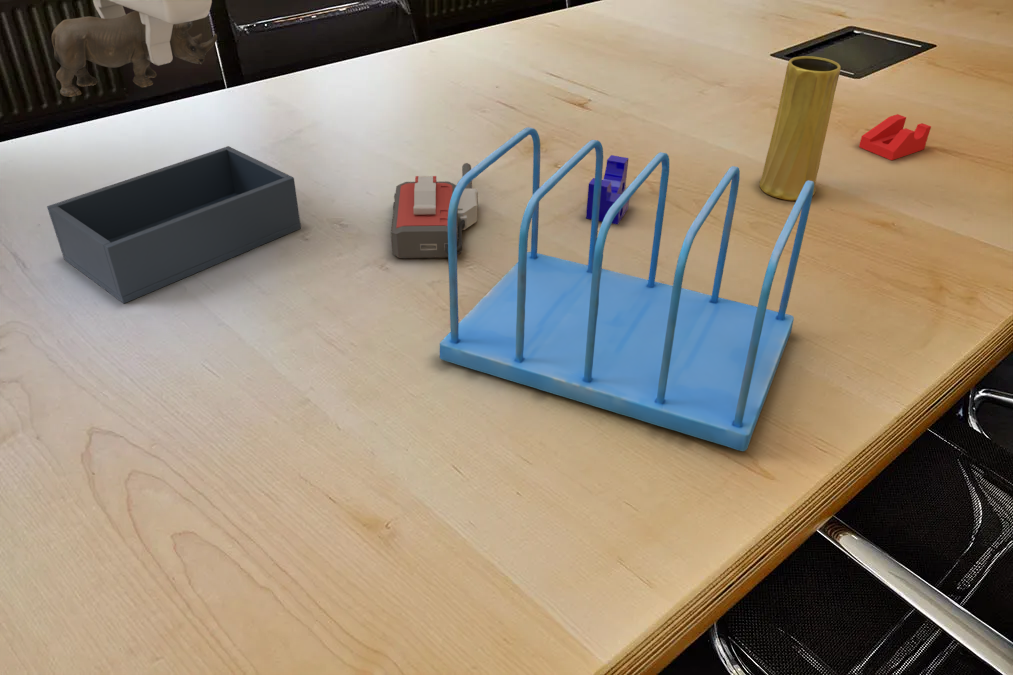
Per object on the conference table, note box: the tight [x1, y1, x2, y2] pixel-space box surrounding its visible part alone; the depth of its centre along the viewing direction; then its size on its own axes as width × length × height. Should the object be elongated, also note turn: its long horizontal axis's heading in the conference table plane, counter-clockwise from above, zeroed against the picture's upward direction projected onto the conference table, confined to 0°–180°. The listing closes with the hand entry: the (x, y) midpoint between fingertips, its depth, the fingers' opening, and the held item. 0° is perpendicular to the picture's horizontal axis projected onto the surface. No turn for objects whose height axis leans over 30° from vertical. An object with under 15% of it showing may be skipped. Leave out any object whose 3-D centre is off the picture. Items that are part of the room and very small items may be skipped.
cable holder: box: [585, 154, 630, 226], centre depth 92 cm, size 8×4×4 cm, turn 158°
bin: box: [46, 145, 302, 304], centre depth 83 cm, size 11×19×6 cm, turn 138°
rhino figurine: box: [51, 10, 218, 98], centre depth 74 cm, size 4×14×6 cm, turn 118°
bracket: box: [858, 113, 932, 161], centre depth 106 cm, size 6×5×3 cm
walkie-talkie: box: [390, 162, 479, 259], centre depth 89 cm, size 9×4×20 cm
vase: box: [759, 55, 841, 202], centre depth 93 cm, size 6×6×14 cm
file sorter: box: [439, 126, 814, 452], centre depth 67 cm, size 25×17×15 cm
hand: (142, 55), depth 74 cm, fingers closed on rhino figurine, 4 cm apart
